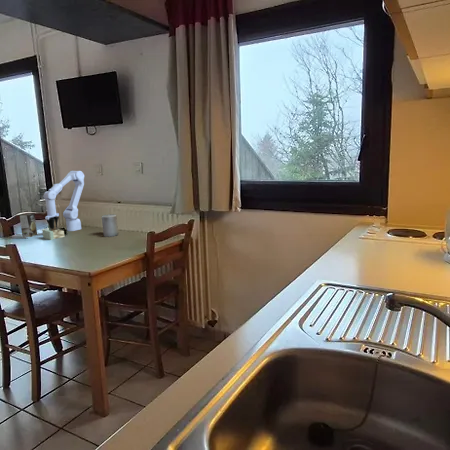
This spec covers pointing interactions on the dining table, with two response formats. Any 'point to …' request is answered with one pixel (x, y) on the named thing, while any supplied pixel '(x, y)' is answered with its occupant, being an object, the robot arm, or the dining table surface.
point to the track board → (48, 234)
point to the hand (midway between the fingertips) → (53, 228)
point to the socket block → (58, 234)
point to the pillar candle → (110, 225)
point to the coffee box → (28, 225)
